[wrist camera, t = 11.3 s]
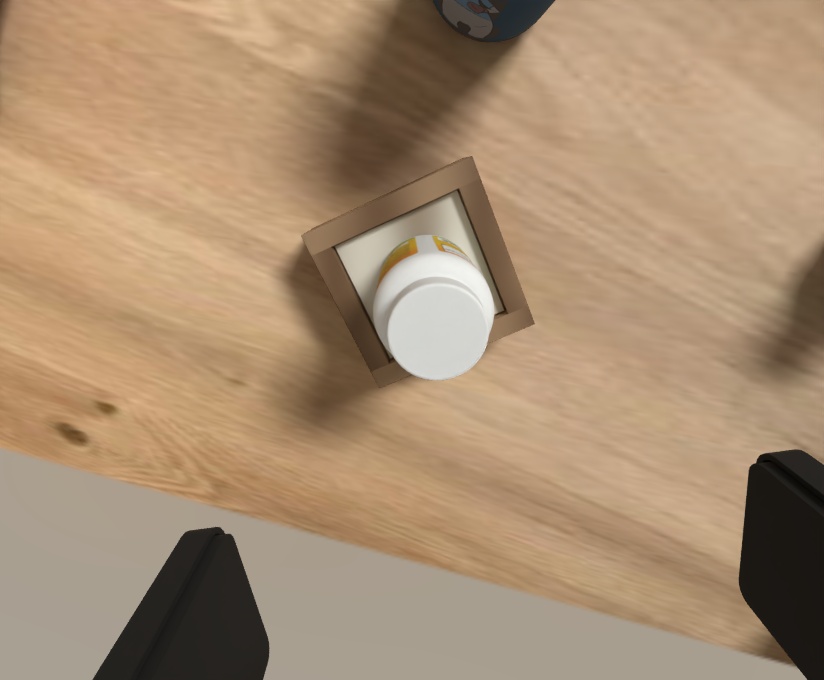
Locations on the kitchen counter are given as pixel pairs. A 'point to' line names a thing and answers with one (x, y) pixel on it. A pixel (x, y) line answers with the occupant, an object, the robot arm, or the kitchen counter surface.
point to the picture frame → (400, 220)
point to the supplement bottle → (432, 308)
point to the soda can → (491, 17)
